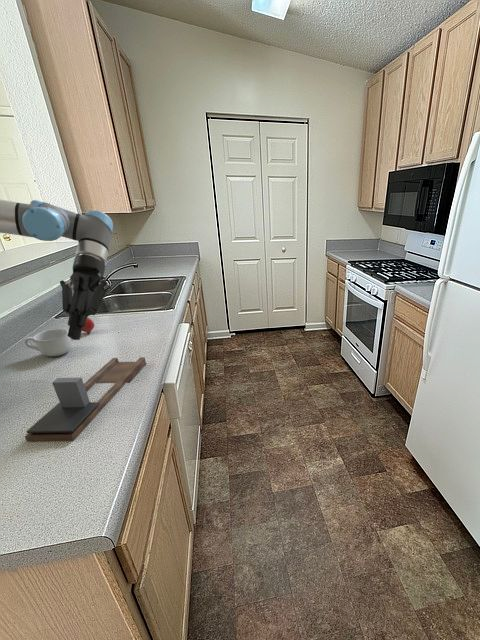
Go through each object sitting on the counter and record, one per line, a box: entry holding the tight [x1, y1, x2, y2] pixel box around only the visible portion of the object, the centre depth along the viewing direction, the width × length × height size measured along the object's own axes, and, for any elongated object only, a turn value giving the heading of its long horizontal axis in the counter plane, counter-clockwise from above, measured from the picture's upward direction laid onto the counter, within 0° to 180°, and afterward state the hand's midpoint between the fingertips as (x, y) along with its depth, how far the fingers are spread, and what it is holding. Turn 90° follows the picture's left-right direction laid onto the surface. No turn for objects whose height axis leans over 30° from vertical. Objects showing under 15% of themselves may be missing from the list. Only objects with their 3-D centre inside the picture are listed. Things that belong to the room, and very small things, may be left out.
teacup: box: [24, 328, 73, 358], centre depth 123 cm, size 14×11×8 cm
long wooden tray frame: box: [24, 356, 147, 443], centre depth 97 cm, size 42×11×3 cm, turn 1°
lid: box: [26, 377, 99, 434], centre depth 81 cm, size 12×11×8 cm
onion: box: [81, 317, 95, 334], centre depth 142 cm, size 6×6×8 cm
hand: (73, 337), depth 87 cm, fingers closed
